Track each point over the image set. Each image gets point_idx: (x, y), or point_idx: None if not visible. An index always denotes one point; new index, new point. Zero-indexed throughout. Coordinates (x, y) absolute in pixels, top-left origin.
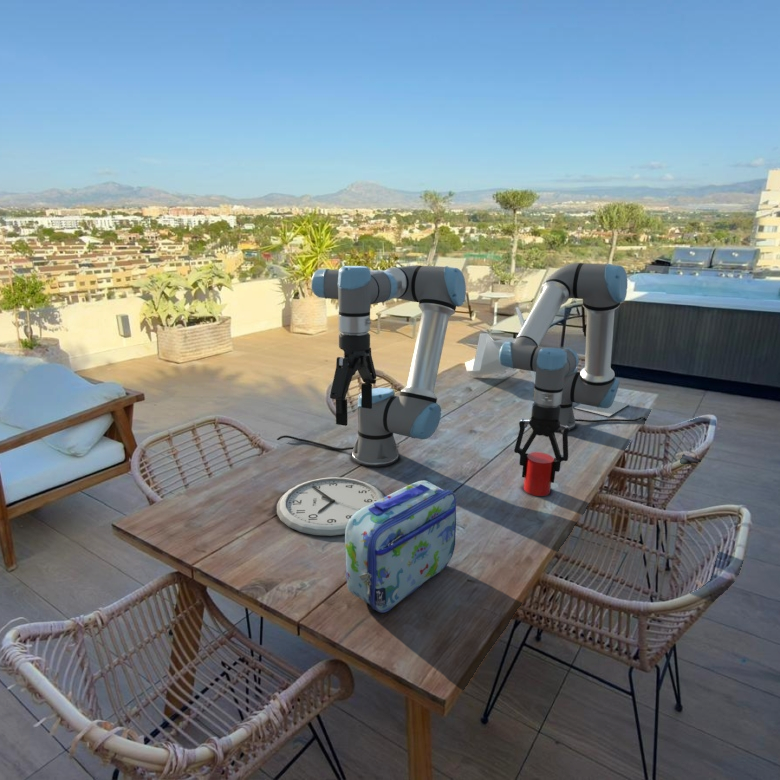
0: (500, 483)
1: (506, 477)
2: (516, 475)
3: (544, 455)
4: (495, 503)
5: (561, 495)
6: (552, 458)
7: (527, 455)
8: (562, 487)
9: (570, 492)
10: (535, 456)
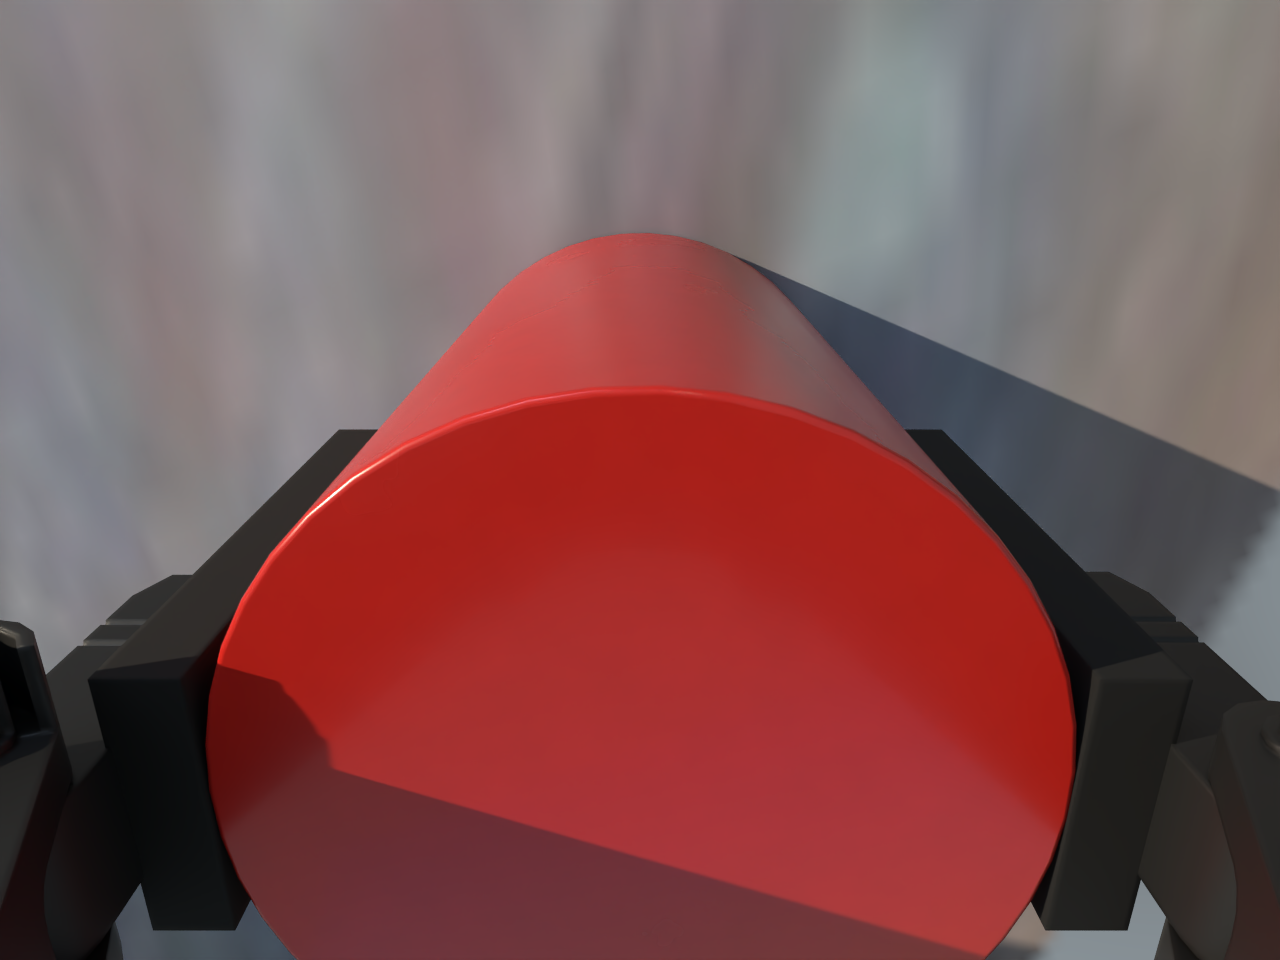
0: (96, 436)
1: (94, 182)
2: (219, 14)
3: (756, 596)
4: (243, 921)
5: (997, 456)
6: (1033, 727)
7: (214, 801)
8: (1034, 175)
9: (1145, 307)
10: (472, 783)
